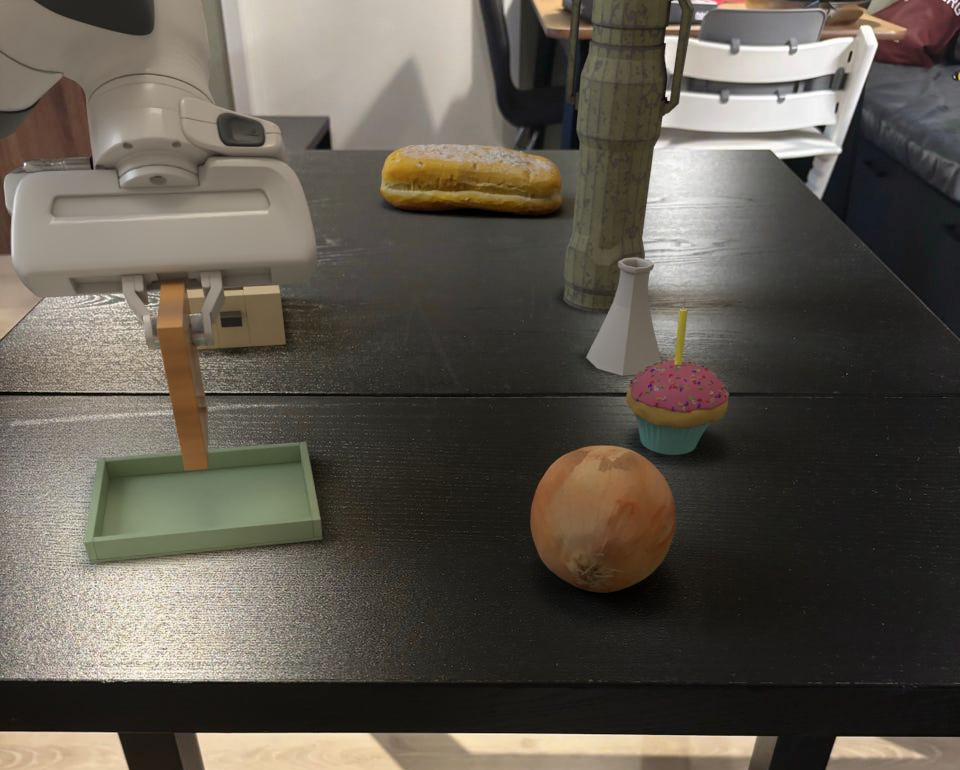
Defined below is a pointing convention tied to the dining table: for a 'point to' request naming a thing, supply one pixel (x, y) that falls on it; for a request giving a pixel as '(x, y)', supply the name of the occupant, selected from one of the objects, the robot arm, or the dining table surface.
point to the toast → (183, 374)
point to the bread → (470, 179)
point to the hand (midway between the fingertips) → (181, 344)
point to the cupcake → (676, 400)
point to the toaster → (245, 317)
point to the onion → (602, 518)
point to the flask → (627, 324)
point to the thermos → (617, 137)
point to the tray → (201, 502)
